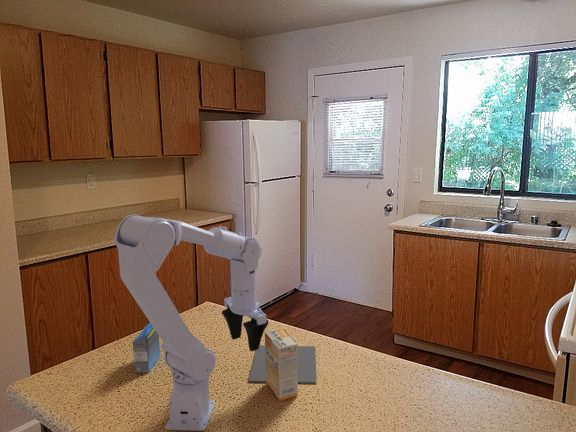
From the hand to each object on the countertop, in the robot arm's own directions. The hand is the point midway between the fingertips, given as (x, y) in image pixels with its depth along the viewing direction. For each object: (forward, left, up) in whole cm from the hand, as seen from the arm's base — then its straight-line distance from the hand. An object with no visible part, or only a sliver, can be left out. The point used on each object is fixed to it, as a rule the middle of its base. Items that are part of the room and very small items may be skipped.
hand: (245, 343), depth 100 cm
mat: (+9, -9, -10) cm, 16 cm away
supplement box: (-3, -9, -10) cm, 13 cm away
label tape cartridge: (+7, +26, -10) cm, 29 cm away
